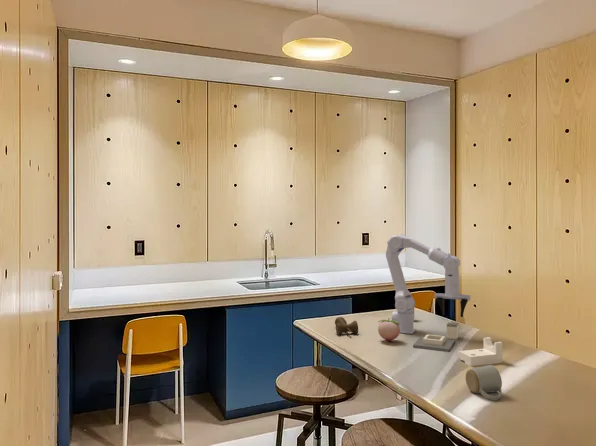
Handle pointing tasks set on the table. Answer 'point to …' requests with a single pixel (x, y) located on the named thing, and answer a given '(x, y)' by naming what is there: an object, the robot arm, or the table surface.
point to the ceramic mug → (484, 381)
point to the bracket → (483, 354)
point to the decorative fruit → (389, 329)
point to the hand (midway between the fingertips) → (452, 315)
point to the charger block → (452, 330)
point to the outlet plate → (434, 343)
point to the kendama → (345, 326)
